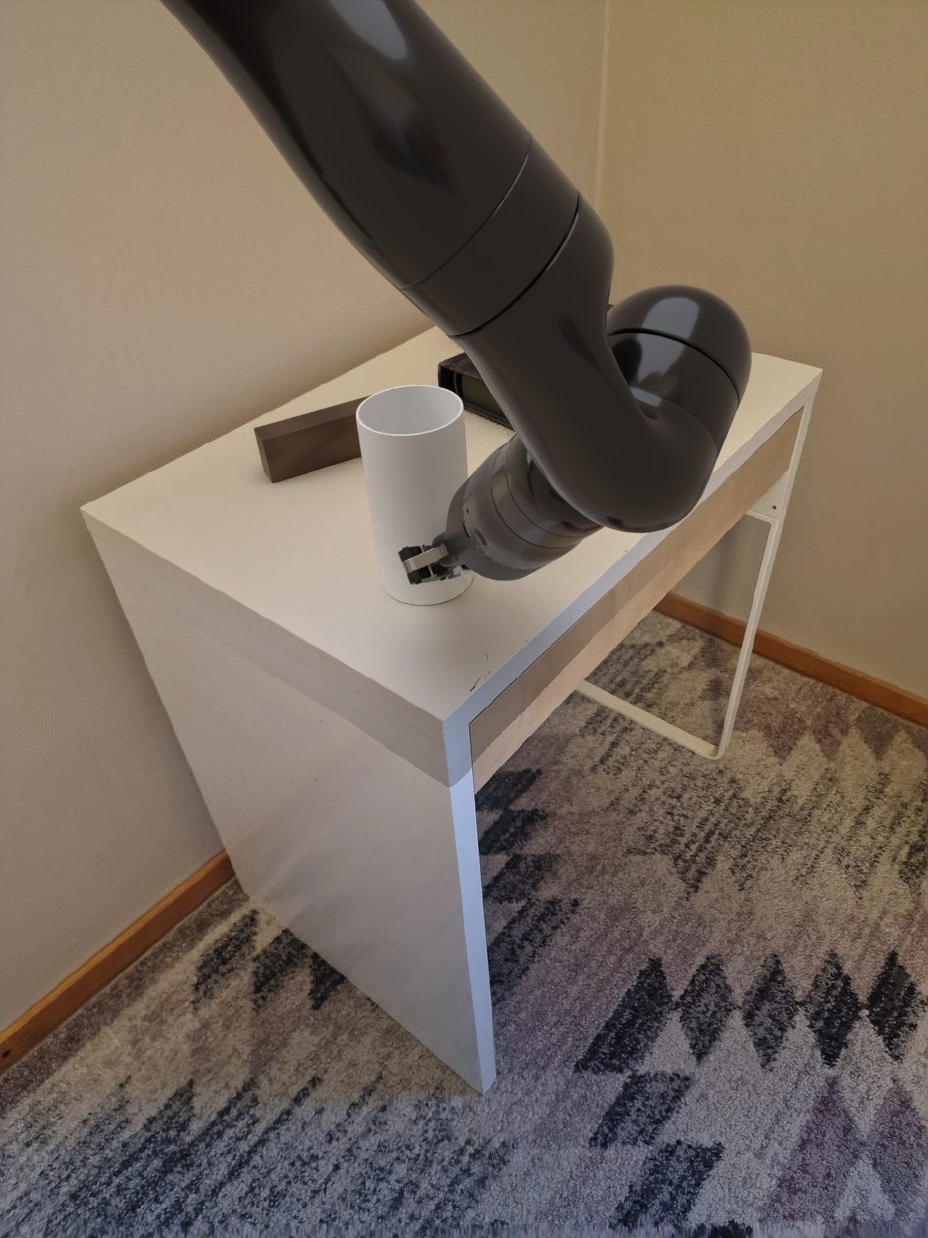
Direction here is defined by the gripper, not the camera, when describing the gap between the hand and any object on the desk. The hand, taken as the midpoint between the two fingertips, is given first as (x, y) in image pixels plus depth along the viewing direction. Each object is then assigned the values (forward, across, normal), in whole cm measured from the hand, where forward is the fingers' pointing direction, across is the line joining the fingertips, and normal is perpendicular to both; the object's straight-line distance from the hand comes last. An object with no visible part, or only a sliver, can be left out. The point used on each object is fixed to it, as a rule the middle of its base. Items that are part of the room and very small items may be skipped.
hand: (451, 565), depth 69 cm
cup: (+6, 0, 0) cm, 6 cm away
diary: (+24, -30, -18) cm, 42 cm away
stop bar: (+23, +1, -18) cm, 29 cm away
